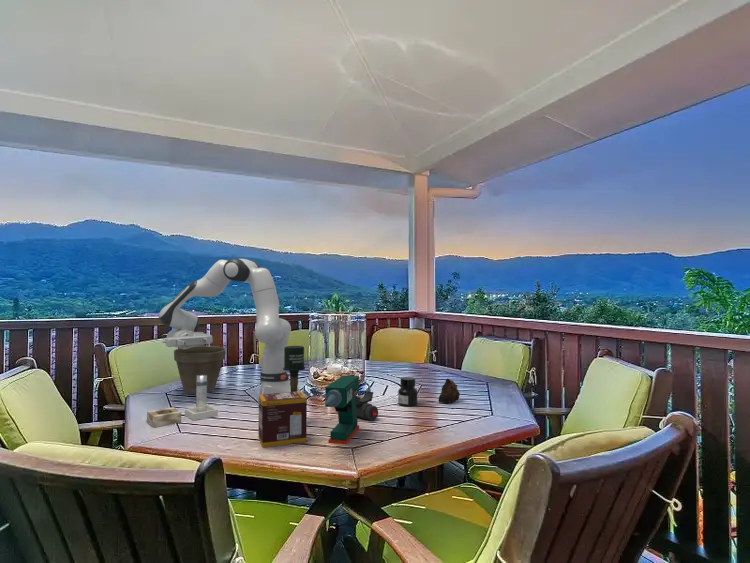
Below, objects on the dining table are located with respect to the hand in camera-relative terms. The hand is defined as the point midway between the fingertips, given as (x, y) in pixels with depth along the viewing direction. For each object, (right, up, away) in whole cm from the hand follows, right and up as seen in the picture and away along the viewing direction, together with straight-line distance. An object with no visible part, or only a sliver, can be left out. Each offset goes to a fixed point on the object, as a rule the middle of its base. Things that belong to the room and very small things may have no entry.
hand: (195, 342), depth 199 cm
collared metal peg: (+8, -28, -14) cm, 33 cm away
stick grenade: (+49, -29, -23) cm, 61 cm away
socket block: (-3, -29, -23) cm, 37 cm away
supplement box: (+48, -29, -43) cm, 71 cm away
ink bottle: (+96, -30, +5) cm, 101 cm away
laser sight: (+73, -30, -13) cm, 80 cm away
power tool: (+69, -29, -45) cm, 87 cm away
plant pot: (-10, -30, +30) cm, 43 cm away
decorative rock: (+116, -30, +11) cm, 121 cm away
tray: (+8, -29, -14) cm, 33 cm away
